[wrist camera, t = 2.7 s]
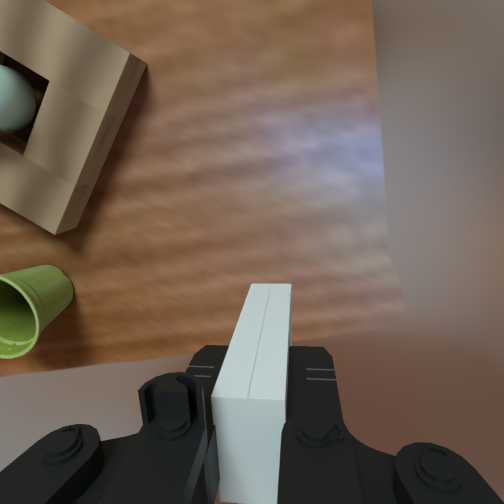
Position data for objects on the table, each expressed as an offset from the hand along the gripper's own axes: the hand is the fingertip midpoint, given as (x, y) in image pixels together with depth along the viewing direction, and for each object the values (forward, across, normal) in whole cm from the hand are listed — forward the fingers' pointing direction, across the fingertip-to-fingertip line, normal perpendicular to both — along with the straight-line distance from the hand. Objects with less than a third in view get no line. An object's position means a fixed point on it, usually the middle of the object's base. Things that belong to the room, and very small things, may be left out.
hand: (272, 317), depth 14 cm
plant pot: (+26, -30, -9) cm, 40 cm away
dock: (+26, -28, +13) cm, 40 cm away
